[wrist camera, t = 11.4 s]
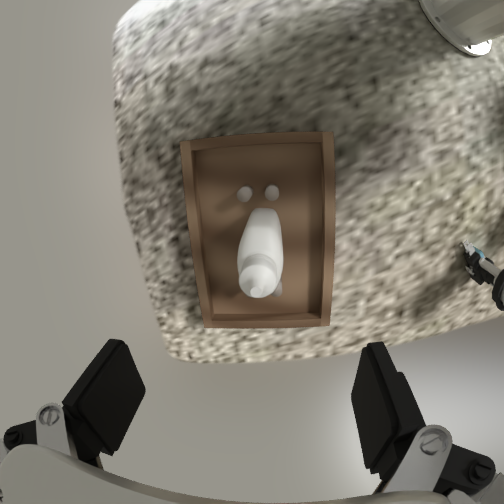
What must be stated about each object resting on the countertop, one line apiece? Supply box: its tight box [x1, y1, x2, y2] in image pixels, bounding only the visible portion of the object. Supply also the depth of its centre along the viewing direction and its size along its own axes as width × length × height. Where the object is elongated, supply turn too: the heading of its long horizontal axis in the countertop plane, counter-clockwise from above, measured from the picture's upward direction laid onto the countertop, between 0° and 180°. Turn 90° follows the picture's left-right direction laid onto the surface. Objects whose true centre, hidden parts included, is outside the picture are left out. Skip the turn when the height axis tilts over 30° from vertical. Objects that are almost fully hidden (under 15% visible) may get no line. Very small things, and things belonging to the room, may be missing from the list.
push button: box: [464, 240, 504, 311], centre depth 22 cm, size 7×5×10 cm
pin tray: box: [180, 132, 335, 328], centre depth 26 cm, size 20×14×4 cm
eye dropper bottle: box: [237, 208, 283, 298], centre depth 21 cm, size 4×6×12 cm
